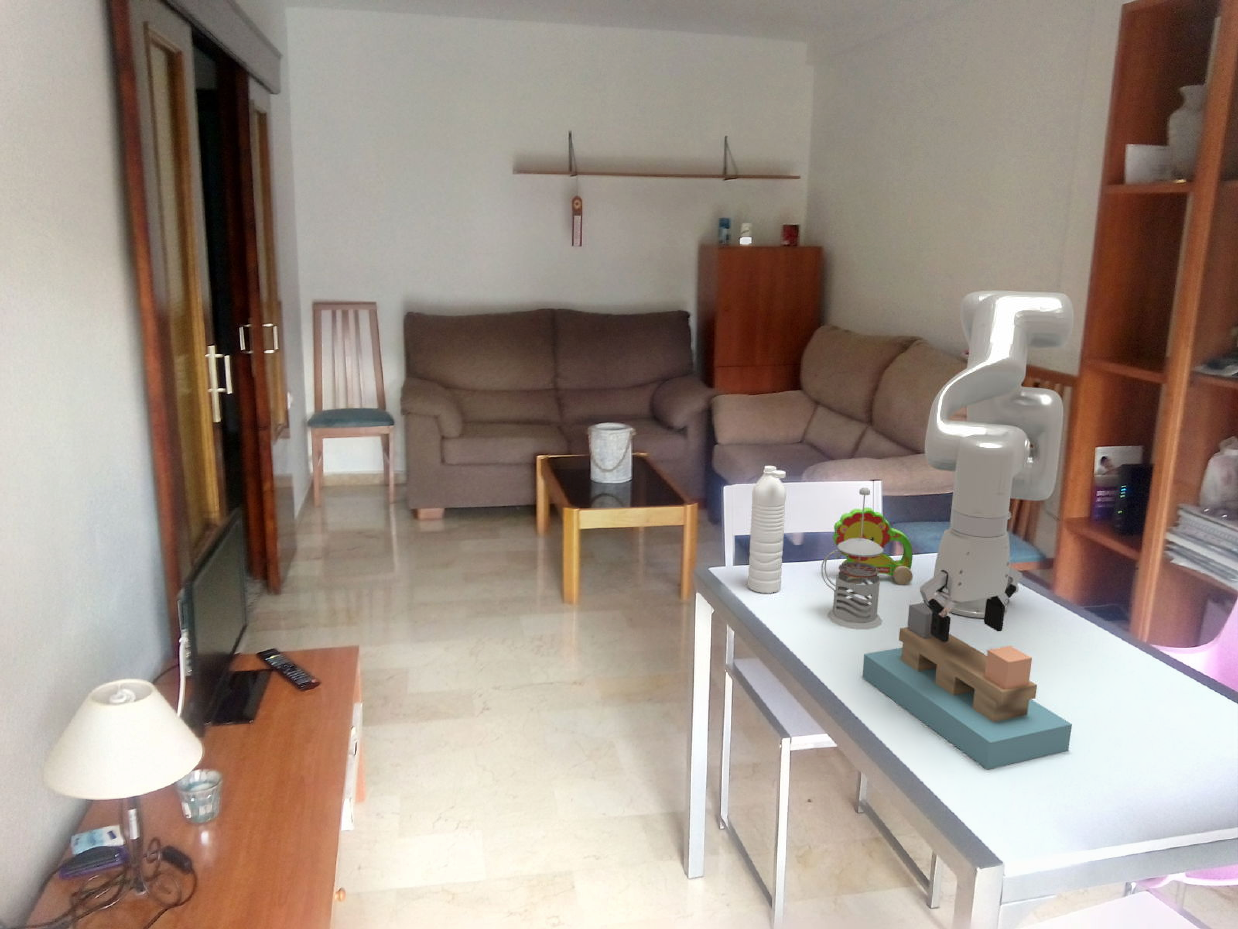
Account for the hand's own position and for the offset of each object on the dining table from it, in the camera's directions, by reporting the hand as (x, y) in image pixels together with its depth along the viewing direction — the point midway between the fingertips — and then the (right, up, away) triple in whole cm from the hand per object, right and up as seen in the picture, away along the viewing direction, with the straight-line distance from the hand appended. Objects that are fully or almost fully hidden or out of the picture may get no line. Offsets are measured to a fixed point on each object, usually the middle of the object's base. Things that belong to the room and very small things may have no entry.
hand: (966, 632), depth 136 cm
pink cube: (+3, -5, -7) cm, 10 cm away
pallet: (0, -8, +2) cm, 8 cm away
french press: (-8, -4, +36) cm, 37 cm away
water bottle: (-22, 0, +48) cm, 53 cm away
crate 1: (-3, -1, +8) cm, 9 cm away
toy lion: (+1, +1, +55) cm, 55 cm away
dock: (0, -12, +2) cm, 12 cm away
